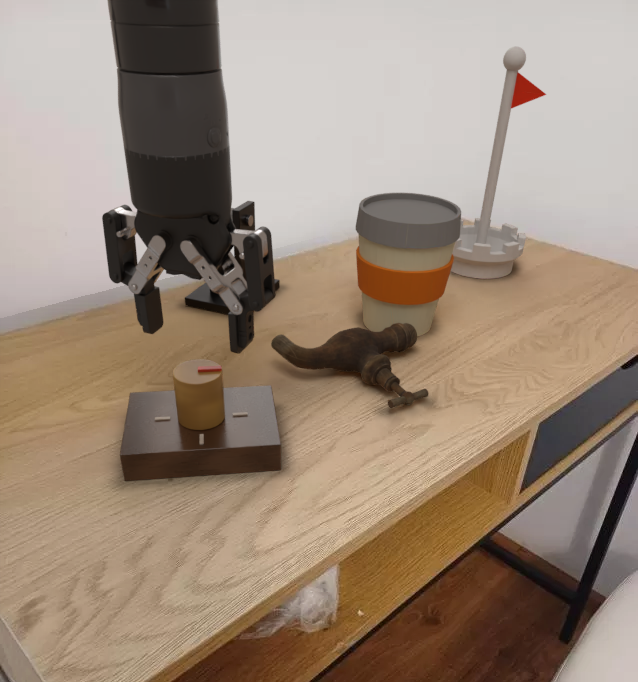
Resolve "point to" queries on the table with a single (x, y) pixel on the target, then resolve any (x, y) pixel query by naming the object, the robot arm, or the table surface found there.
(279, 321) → the table surface
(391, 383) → the faucet
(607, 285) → the table surface
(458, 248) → the flag stand
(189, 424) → the tap knob
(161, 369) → the table surface
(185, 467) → the panel
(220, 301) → the black upright frame
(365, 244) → the reusable coffee cup
